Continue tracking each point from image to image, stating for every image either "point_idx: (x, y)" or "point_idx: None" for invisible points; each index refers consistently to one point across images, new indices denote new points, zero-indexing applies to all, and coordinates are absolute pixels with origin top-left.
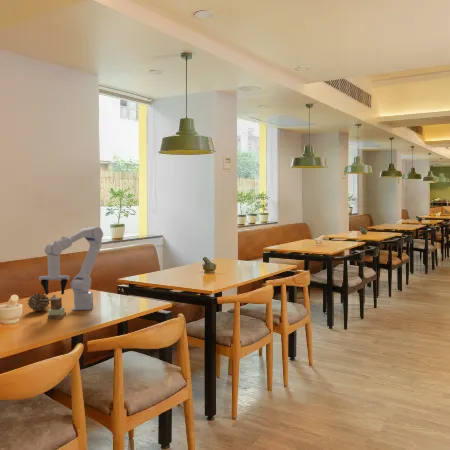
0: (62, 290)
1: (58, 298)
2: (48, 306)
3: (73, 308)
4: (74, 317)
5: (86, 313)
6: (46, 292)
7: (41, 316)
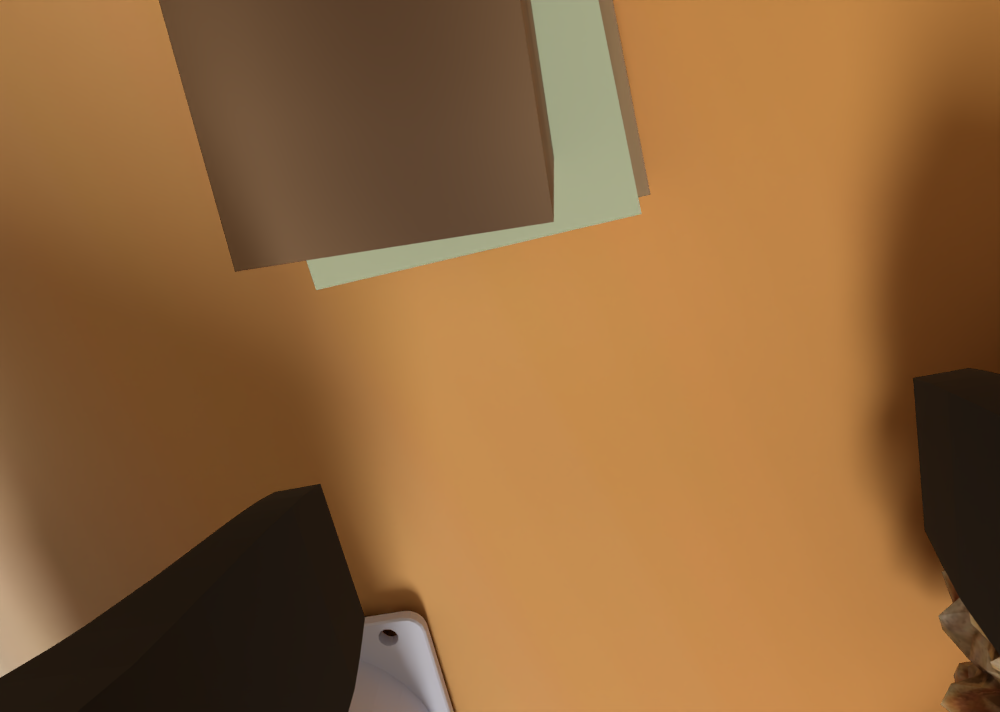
0: (193, 561)
1: (268, 122)
2: (957, 671)
3: (426, 679)
4: (47, 94)
5: (12, 429)
6: (982, 395)
7: (860, 97)
